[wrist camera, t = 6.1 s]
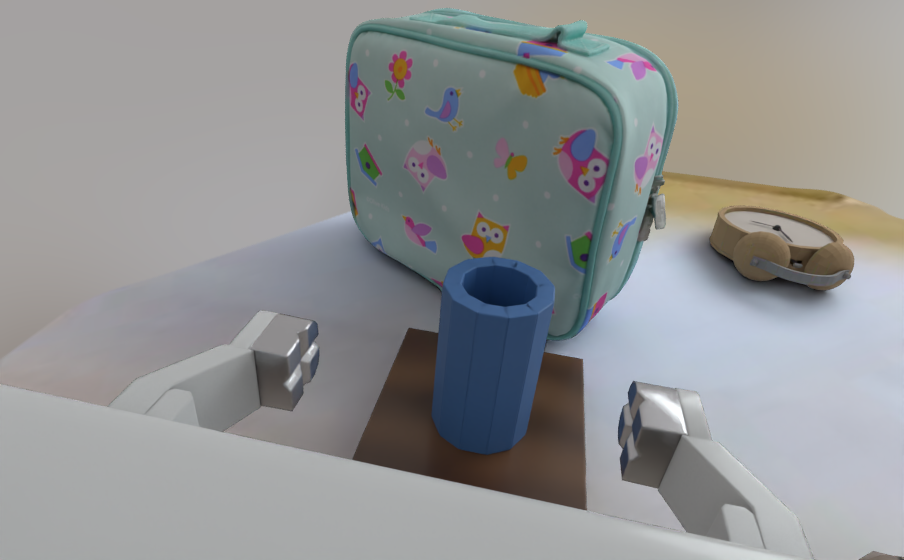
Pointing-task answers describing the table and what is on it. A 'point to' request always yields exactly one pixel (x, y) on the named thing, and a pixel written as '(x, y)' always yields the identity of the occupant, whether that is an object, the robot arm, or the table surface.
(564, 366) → the platform
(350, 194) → the lunch box
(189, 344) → the table surface
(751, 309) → the table surface
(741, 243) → the alarm clock
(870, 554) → the toy character
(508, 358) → the blue faceted hollow tube
